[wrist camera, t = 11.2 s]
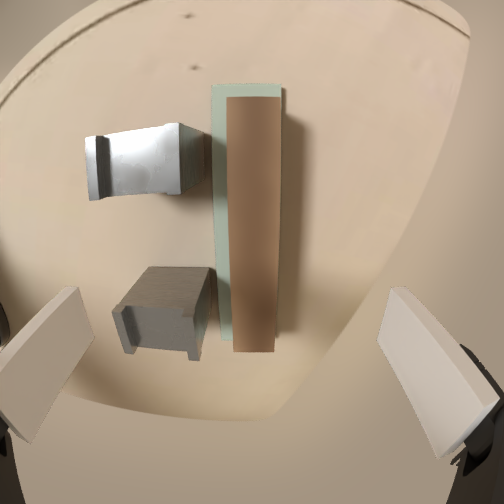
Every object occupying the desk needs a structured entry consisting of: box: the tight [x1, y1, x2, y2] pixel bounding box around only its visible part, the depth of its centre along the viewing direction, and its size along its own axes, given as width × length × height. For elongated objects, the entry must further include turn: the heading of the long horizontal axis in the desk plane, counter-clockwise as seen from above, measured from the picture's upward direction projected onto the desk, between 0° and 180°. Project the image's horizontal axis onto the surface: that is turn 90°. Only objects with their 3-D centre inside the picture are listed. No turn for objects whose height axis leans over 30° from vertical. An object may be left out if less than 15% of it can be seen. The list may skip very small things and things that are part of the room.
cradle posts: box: [85, 123, 212, 361], centre depth 20 cm, size 6×16×8 cm, turn 0°
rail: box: [226, 96, 281, 352], centre depth 21 cm, size 4×20×4 cm, turn 0°
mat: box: [212, 84, 281, 341], centre depth 23 cm, size 6×24×1 cm, turn 0°
